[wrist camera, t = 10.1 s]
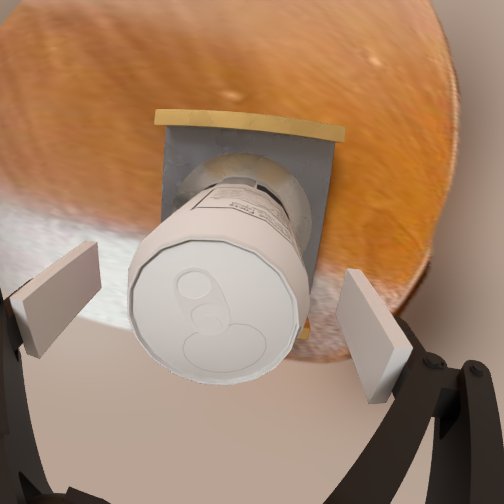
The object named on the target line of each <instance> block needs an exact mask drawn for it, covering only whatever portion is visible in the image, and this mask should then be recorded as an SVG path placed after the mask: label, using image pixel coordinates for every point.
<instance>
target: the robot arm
mask: <svg viewBox="0 0 504 504" xmlns="http://www.w3.org/2000/svg"><path fill="white" fill-rule="evenodd" d="M100 289H101V279H100V269H99V259H98V246H97V242H92V241H85V242H83V243H82V244H80V245H79V246H77V247H76V248H74V249H73V250H72V251H70V252H69V253H67V254H66V255H65V256H63V257H62V258H60V259H59V260H58V261H56V262H55V263H53V264H52V265H51V266H49V267H48V268H47V269H45V270H44V271H43V272H41V273H40V274H39V275H37V276H36V277H35V278H33V279H30V280H29V281H28V282H26V283H25V284H24V285H23V286H21V287H20V288H19V289H18V290H16V291H15V292H14V293H12V294H11V295H10V296H9V297H7V298H6V299H5V300H3V297H2V293H1V289H0V504H110V503H109V502H107V501H105V500H104V499H101V498H98V497H95V496H93V495H90V494H87V493H84V492H82V491H79V490H77V489H74V488H72V487H69V488H68V490H67V492H66V494H63V493H53V491H52V490H51V488H50V486H49V484H48V482H47V479H46V477H45V473H44V471H43V467H42V464H41V460H40V457H39V453H38V450H37V446H36V442H35V438H34V434H33V429H32V425H31V421H30V415H29V410H28V404H27V398H26V392H25V385H24V378H23V370H22V360H21V353H20V351H19V347H20V346H21V344H22V343H23V344H24V347H25V350H26V353H27V354H28V355H31V356H34V357H36V358H39V359H40V358H41V357H42V355H43V354H44V353H45V352H46V350H47V349H48V348H49V347H50V346H51V344H52V343H53V342H54V341H55V340H56V338H57V337H58V336H59V335H60V334H61V332H62V331H63V330H64V329H65V328H66V327H67V326H68V324H69V323H70V322H71V321H72V320H73V319H74V318H75V317H76V315H77V314H78V313H79V312H80V311H81V310H82V309H83V308H84V306H85V305H86V304H87V303H88V302H89V301H90V300H91V299H92V298H93V297H94V296H95V294H96V293H97V292H98V291H99V290H100ZM335 315H336V317H337V320H338V323H339V325H340V328H341V330H342V333H343V335H344V338H345V341H346V343H347V346H348V348H349V351H350V354H351V356H352V359H353V362H354V364H355V367H356V370H357V373H358V375H359V378H360V381H361V383H362V386H363V389H364V392H365V395H366V398H367V401H368V404H378V403H386V402H387V400H388V398H389V397H390V395H391V393H393V396H394V398H395V400H394V402H393V404H392V405H391V407H390V409H389V411H388V412H387V414H386V416H385V417H384V419H383V421H382V422H381V424H380V426H379V427H378V429H377V430H376V432H375V434H374V435H373V437H372V438H371V440H370V441H369V443H368V444H367V446H366V447H365V449H364V450H363V452H362V453H361V455H360V456H359V457H358V459H357V460H356V462H355V463H354V464H353V466H352V467H351V469H350V470H349V471H348V473H347V474H346V475H345V477H344V478H343V479H342V481H341V482H340V483H339V484H338V486H337V487H336V488H335V490H334V491H333V492H332V493H331V495H330V496H329V497H328V498H327V499H326V501H325V502H324V503H323V504H390V503H391V501H392V499H393V497H394V496H395V494H396V492H397V490H398V488H399V487H400V485H401V483H402V481H403V479H404V477H405V475H406V473H407V471H408V469H409V467H410V465H411V463H412V461H413V459H414V457H415V454H416V452H417V450H418V448H419V445H420V443H421V441H422V439H423V436H424V434H425V431H426V429H427V427H428V424H429V421H430V419H431V417H435V422H434V439H433V451H432V461H431V470H430V477H429V485H428V491H427V497H426V502H425V504H504V446H503V439H502V430H501V424H500V417H499V412H498V406H497V401H496V396H495V391H494V387H493V382H492V378H491V374H490V371H489V369H488V368H487V367H486V366H485V365H484V364H483V363H481V362H478V361H475V360H468V361H466V362H465V363H464V365H463V367H462V368H461V370H460V369H454V368H448V367H447V364H446V362H445V361H444V360H443V359H442V358H441V357H440V356H438V355H436V354H434V353H430V352H426V351H425V349H424V348H423V346H422V345H421V343H420V342H419V340H418V339H417V337H416V336H415V334H414V333H413V331H411V328H410V327H409V326H408V324H407V323H406V322H405V321H404V320H403V319H401V318H400V317H399V316H392V314H391V313H390V311H389V310H388V308H387V307H386V306H385V304H384V303H383V301H382V300H381V298H380V297H379V295H378V294H377V292H376V291H375V290H374V288H373V287H372V285H371V284H370V282H369V281H368V280H367V278H366V277H365V275H364V274H363V273H362V271H361V270H360V269H349V268H347V269H346V274H345V278H344V282H343V286H342V290H341V294H340V298H339V302H338V306H337V310H336V314H335Z"/></svg>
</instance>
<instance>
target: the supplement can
mask: <svg viewBox="0 0 504 504" xmlns="http://www.w3.org/2000/svg"><path fill="white" fill-rule="evenodd" d="M309 310H310V297H309V284H308V276H307V273H306V269H305V266H304V263H303V259H302V256H301V253H300V249H299V246H298V243H297V240H296V236H295V233H294V230H293V227H292V224H291V221H290V218H289V214H288V211H287V209H286V207H285V205H284V204H283V202H282V200H281V198H280V196H279V195H278V194H277V193H276V192H275V191H274V190H273V189H272V188H270V187H269V186H268V185H267V184H266V183H264V182H261V181H259V180H256V179H254V178H251V177H246V176H229V177H227V178H224V179H221V180H218V181H215V182H213V183H212V184H210V185H209V186H208V187H206V188H205V189H204V190H202V191H201V192H200V193H199V194H197V195H196V196H195V197H193V198H192V199H191V200H190V201H188V202H187V203H186V204H185V205H183V206H182V207H181V208H179V209H178V210H177V211H176V212H175V213H173V214H172V215H171V216H170V217H168V218H167V219H166V220H165V221H163V222H162V223H161V224H160V225H159V226H158V227H157V228H156V229H155V230H153V231H152V232H151V233H150V234H149V235H148V236H147V237H146V238H145V239H144V240H143V241H142V242H140V244H139V246H138V249H137V251H136V253H135V255H134V257H133V260H132V262H131V264H130V267H129V269H128V290H127V315H128V318H129V321H130V324H131V326H132V329H133V331H134V334H135V336H136V339H137V340H138V341H139V343H140V344H141V345H142V346H143V347H144V349H145V350H146V352H147V353H148V354H149V355H150V356H151V358H152V359H153V360H155V361H156V362H157V363H159V364H160V365H162V366H163V367H165V368H166V369H167V370H169V371H170V372H172V373H173V374H175V375H178V376H180V377H183V378H186V379H188V380H191V381H194V382H197V383H200V384H211V385H224V386H228V385H233V384H239V383H244V382H249V381H253V380H255V379H256V378H258V377H260V376H262V375H264V374H266V373H268V372H270V371H271V370H273V369H275V368H276V366H277V365H278V364H279V363H280V362H281V361H282V360H283V359H284V358H285V357H286V355H287V354H288V353H289V352H290V351H291V349H292V346H293V343H294V342H295V341H296V339H297V338H298V337H299V336H300V335H301V333H302V330H303V327H304V324H305V322H306V319H307V316H308V313H309Z"/></svg>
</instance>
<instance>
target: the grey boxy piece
mask: <svg viewBox="0 0 504 504" xmlns="http://www.w3.org/2000/svg"><path fill="white" fill-rule="evenodd" d="M154 125H160V126H166V135H165V148H164V163H163V182H162V208H161V223H162V222H163V221H165V220H166V219H167V218H168V217H170V216H171V215H172V214H173V213H175V212H176V211H177V210H178V209H179V208H181V207H182V206H183V205H185V204H186V203H187V202H188V201H190V200H191V199H192V198H193V197H195V196H196V195H197V194H199V193H200V192H201V191H202V190H204V189H205V188H206V187H208V186H209V185H210V184H212V183H213V182H215V181H218V180H221V179H224V178H227V177H229V176H246V177H251V178H254V179H256V180H259V181H261V182H264V183H266V184H267V185H268V186H269V187H270V188H272V189H273V190H274V191H275V192H276V193H277V194H278V195H279V196H280V198H281V200H282V202H283V204H284V205H285V207H286V209H287V211H288V214H289V218H290V221H291V224H292V227H293V230H294V233H295V236H296V240H297V243H298V246H299V249H300V253H301V256H302V259H303V263H304V266H305V269H306V273H307V276H308V284H309V296H310V291H311V286H312V281H313V276H314V271H315V266H316V261H317V255H318V250H319V244H320V239H321V233H322V227H323V221H324V215H325V209H326V203H327V196H328V190H329V183H330V176H331V169H332V162H333V154H334V147H335V143H344V139H345V131H346V127H343V126H338V125H333V124H327V123H321V122H315V121H309V120H302V119H295V118H288V117H280V116H271V115H262V114H252V113H241V112H227V111H211V110H182V109H156V110H155V121H154ZM309 331H310V325H309V321H308V316H307V319H306V322H305V324H304V327H303V330H302V333H301V335H300V336H299V337H298V338H297V339H307V340H308V336H309Z"/></svg>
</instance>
